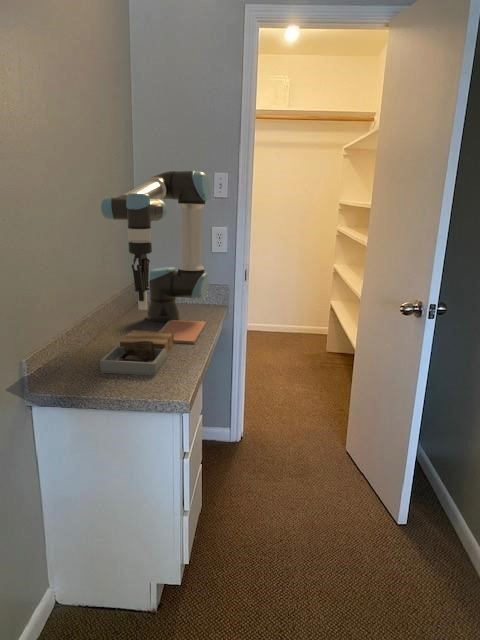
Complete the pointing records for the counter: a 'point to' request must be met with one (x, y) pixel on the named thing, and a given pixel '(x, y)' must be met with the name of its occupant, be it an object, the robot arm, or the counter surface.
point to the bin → (132, 363)
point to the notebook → (184, 330)
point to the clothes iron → (139, 351)
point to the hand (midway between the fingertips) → (142, 309)
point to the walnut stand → (150, 339)
